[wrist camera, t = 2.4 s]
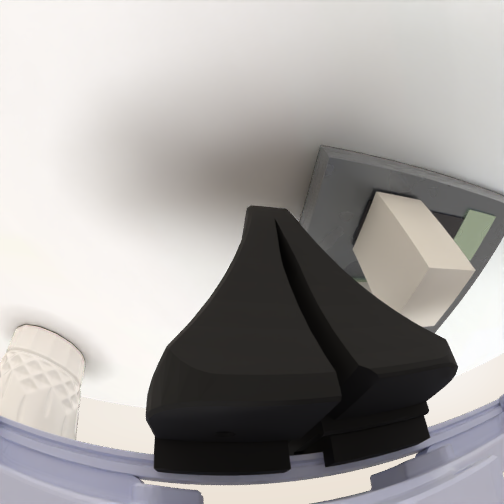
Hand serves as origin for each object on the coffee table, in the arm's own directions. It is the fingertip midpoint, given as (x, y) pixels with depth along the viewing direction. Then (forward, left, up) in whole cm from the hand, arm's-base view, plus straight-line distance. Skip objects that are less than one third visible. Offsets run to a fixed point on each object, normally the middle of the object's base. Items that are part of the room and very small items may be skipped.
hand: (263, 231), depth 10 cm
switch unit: (-9, +5, -3) cm, 10 cm away
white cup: (+15, +15, -3) cm, 21 cm away
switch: (-6, 0, -1) cm, 6 cm away
